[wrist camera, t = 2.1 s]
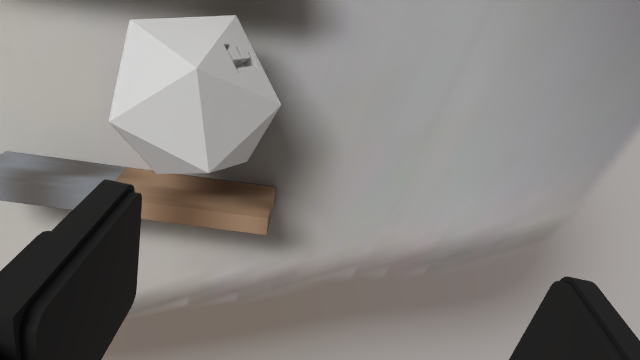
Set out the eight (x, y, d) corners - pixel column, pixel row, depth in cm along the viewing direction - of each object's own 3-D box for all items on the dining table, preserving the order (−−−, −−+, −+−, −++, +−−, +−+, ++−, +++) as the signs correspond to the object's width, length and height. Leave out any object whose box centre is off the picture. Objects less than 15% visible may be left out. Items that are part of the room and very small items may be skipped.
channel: (300, -56, 25) (293, -56, 21) (274, 202, 32) (266, 235, 28) (-44, -107, 24) (-110, -116, 21) (9, 167, 31) (-34, 196, 28)
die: (282, 148, 31) (323, 113, 22) (158, 207, 28) (145, 197, 19) (225, 36, 30) (242, -48, 21) (95, 86, 28) (50, 16, 19)
